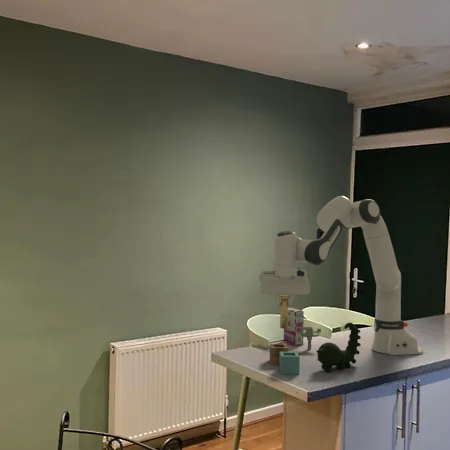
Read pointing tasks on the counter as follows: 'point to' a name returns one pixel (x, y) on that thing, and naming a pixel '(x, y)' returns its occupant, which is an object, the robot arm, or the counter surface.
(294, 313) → the candy bar box
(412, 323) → the counter surface
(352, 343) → the toy figurine
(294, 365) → the socket block
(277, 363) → the pin mount
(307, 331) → the mechanical component
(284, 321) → the lock pin
